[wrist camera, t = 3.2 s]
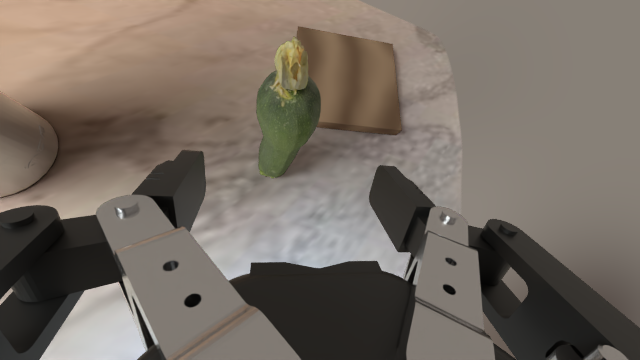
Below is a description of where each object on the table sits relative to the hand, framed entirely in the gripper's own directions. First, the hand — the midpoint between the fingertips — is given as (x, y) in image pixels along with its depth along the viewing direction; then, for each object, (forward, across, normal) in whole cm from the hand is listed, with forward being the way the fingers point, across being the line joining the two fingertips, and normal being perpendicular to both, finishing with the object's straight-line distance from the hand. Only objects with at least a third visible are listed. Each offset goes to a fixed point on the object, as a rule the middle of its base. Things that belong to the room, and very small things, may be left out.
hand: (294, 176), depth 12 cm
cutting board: (+26, -9, -1) cm, 27 cm away
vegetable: (+17, 0, +8) cm, 18 cm away
